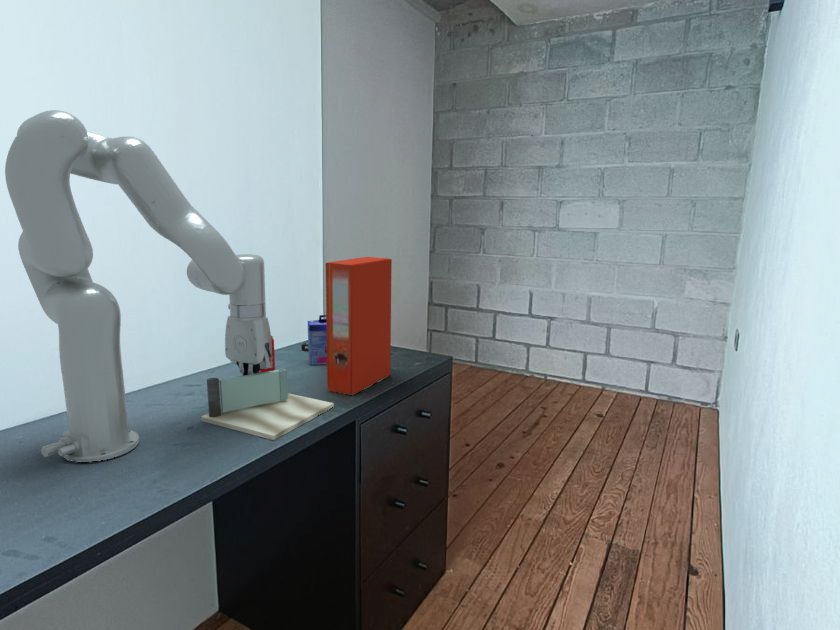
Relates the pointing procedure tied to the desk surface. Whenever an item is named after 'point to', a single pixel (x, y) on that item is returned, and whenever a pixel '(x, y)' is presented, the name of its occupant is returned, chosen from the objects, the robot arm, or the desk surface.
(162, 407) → the desk surface
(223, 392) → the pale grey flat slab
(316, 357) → the ink cartridge box
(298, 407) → the gate base
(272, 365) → the beverage can
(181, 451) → the desk surface
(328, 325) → the file binder
